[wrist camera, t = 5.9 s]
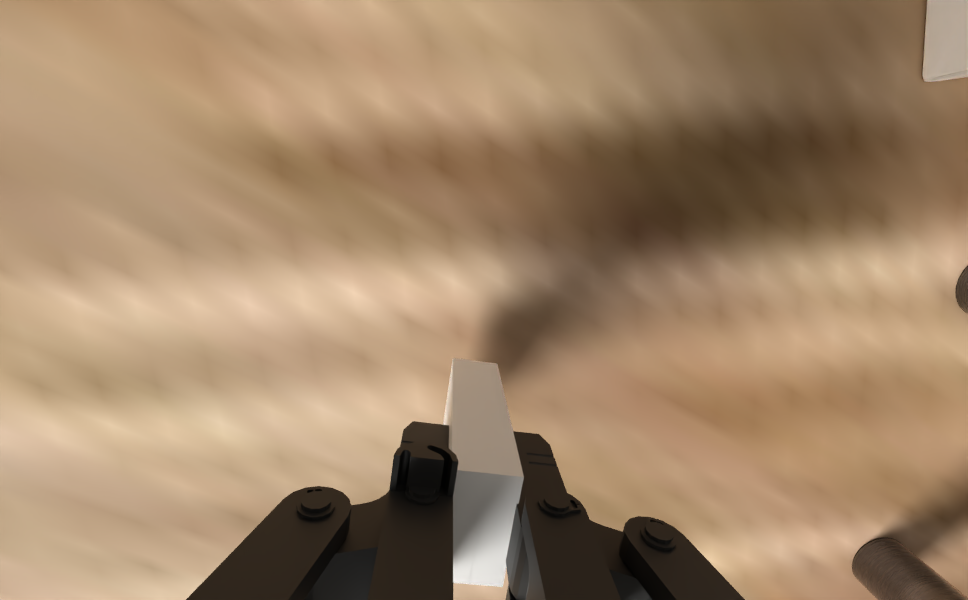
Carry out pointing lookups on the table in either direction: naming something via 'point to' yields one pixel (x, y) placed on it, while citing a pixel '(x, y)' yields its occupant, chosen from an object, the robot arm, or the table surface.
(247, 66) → the table surface
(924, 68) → the ink cartridge box
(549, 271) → the table surface
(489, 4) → the table surface
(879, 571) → the post
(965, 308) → the post
